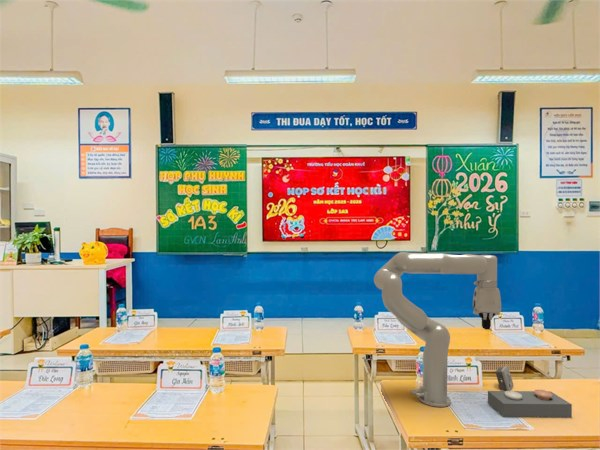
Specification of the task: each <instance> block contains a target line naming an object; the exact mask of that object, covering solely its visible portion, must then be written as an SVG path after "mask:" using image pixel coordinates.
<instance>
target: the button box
mask: <svg viewBox="0 0 600 450" xmlns="http://www.w3.org/2000/svg"><path fill="white" fill-rule="evenodd" d="M505 391H506V390H487V404H488V405H489V406H490V407H491V406H492V408H493V409H494V411H496V412H497V411H498V412H499V413H498V412H497V413H498V414H500V415H501V416H502V417H503V418H552V419H553V418H556V419H557V418H559V419H560V418H562V419H563V418H566V419H567V418H571V419H572V417H573V416H572V415H573V414H572V411H573V410H572V409H573V408H572V407H573V404H572V403H571V402H569V401H567V400H566V399H564V398H562V397H560V396H559V395H557V394H555V393H554V392H552V391H550V390H549V391H548V390H547V391H548V392H550V393H552V398H549V400H540V399H539V398H537V396H536V395H535V394H534V391H535V390H533V391H532V390H527V391H526V390H513V391H514V392H518V393H520V394H521V395H522V399H520V400H510V399H509V398H507V397H506V396H505Z"/></svg>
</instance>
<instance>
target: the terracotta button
mask: <svg viewBox="0 0 600 450" xmlns="http://www.w3.org/2000/svg"><path fill="white" fill-rule="evenodd" d="M533 391H534V394H535V395H536V396H537V398H539V399H540V400H549V398H552V393H553V392H552V393H550V392H548V390H545V389H535V390H533Z"/></svg>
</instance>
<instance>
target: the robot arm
mask: <svg viewBox="0 0 600 450" xmlns="http://www.w3.org/2000/svg"><path fill="white" fill-rule="evenodd" d="M404 273H406V274H416V275H418V274H419V275H420V274H425V275H427V274H431V275H433V274H437V275H438V274H439V275H440V274H441V275H476V281H474V282H473V285H475V286H476V287H475V288H474V290H473V291H474V292H473V298H472V308H473V311H472V314H474V315H477V316H479V317H480V318H481V328H482V329H484V330H486V331H487V330H490V329H491V324H492V320H493V318H494V317H495V316H499V315H500V313H501V312H502V300H501V299H502V297H501V291H500V289H499V288H498V257H497V256H496V255H491V254H471V253H464V254H461V255H459V254H450V253H449V254H448V253H441V252H407V251H400V252H398V253H396V254H395V255H393V256H392V257H391V258H390V259H389V260H388V261H387V262H386V263H385V264H384V265H383V266H381V268H379V269H378V270H377V271H376V273H375V274H374V277H373V282H374V285H375V286H376V288H377V289H378V290H381V298H382V302H383V305H384V307H385V309H387V311H389V312H390V313H391V314H392V315H393V316H394V317H395V318H396V319H397V320H398V322H399V323H400V324H401V325H402V326H404V327H405V328H406V329H407V330H408V331H410V332H411V333H412V334H413V335H414V336H417V337H418V338H419V339H421V340H422V341H423V342H425V346H424V348H423V353H422V354H423V355H422V386H420V388H418V389H410V395H415V397H418V400H419V401H420V402H421V403H423V404H425V405H427V406H431V407H435V408H436V407H437V408H442V407H448V406H450V405H451V404H452V399H451V398H450V396H448V358H449V357H448V355H449V354H448V353H449V347H450V343H451V334H450V331H449V330H448V329H447V327H446V326H444V325H443V324H441V323H439V322H438V321H436V320H434V319H431V318H430V317H428V316H427V314H426V312H425V311H424V310H423V309H421V308H420V307H418V306H416V304H414V302H412V301H410V300H409V299H408V298H407V297H406V296H405V295H404V294H403V282H402V278H401V277H402V275H404Z"/></svg>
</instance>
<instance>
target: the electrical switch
mask: <svg viewBox="0 0 600 450" xmlns="http://www.w3.org/2000/svg"><path fill="white" fill-rule="evenodd" d="M495 375H496V379H497V382H498V383H497V384H498V386H499V391H512V389H513V387H514V382H513V378H512V376H511V375H512V374H511V371H510V368H509V366H508V365H507V364H505V365H504V367H498V368H497V370H496V371H495Z"/></svg>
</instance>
